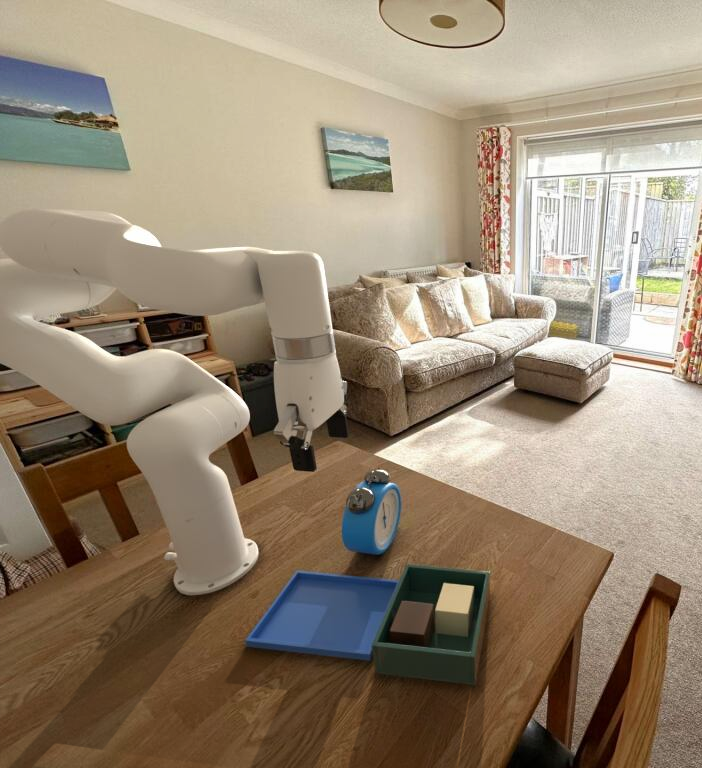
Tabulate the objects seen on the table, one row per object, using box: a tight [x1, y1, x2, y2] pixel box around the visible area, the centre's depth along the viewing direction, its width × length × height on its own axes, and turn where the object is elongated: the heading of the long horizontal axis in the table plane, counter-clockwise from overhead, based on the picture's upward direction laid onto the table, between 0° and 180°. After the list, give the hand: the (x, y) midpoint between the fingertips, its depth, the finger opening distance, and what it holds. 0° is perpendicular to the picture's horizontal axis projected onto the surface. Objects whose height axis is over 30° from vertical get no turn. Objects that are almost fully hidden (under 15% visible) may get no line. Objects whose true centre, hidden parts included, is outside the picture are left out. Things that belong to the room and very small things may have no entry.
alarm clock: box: [341, 467, 402, 557], centre depth 77 cm, size 13×6×15 cm, turn 172°
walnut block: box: [390, 601, 435, 648], centre depth 60 cm, size 5×5×5 cm
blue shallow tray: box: [244, 570, 399, 662], centre depth 65 cm, size 19×13×2 cm
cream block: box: [435, 583, 474, 637], centre depth 63 cm, size 5×5×5 cm
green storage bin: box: [372, 563, 491, 688], centre depth 62 cm, size 14×14×6 cm
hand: (323, 452), depth 62 cm, fingers open, 9 cm apart
